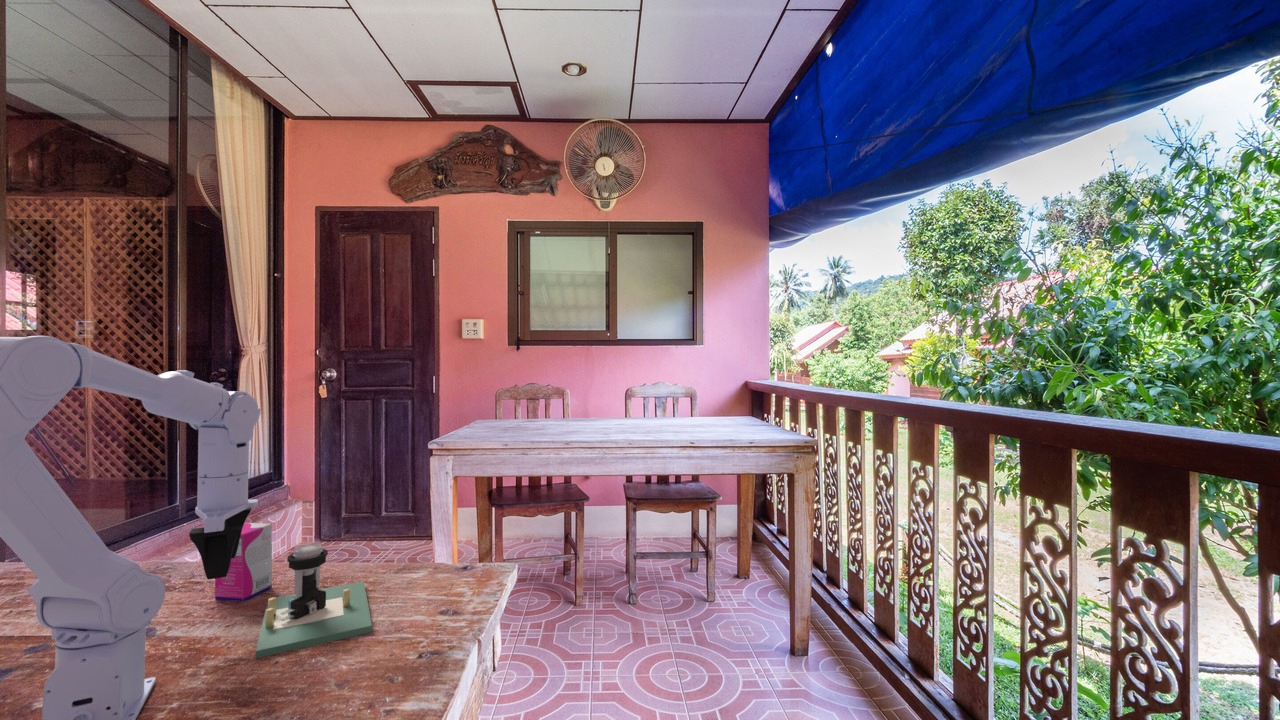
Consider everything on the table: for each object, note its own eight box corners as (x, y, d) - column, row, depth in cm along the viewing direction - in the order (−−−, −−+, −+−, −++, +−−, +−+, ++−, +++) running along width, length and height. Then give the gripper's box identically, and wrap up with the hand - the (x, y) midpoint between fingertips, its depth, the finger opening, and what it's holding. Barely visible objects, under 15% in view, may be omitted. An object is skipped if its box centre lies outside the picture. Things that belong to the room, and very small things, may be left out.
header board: (371, 632, 77) (372, 608, 77) (255, 658, 70) (256, 632, 70) (363, 587, 93) (364, 567, 93) (268, 604, 85) (268, 583, 85)
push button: (293, 627, 76) (295, 559, 76) (268, 620, 78) (270, 554, 78) (334, 607, 82) (335, 545, 83) (310, 602, 84) (311, 540, 84)
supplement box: (243, 585, 93) (245, 521, 93) (272, 588, 92) (274, 523, 92) (212, 599, 87) (214, 531, 87) (242, 602, 86) (244, 533, 86)
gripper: (252, 481, 70) (250, 580, 70) (262, 462, 83) (261, 546, 83) (184, 487, 67) (182, 591, 67) (206, 466, 79) (204, 554, 79)
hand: (222, 567), depth 75 cm, fingers open, 7 cm apart
